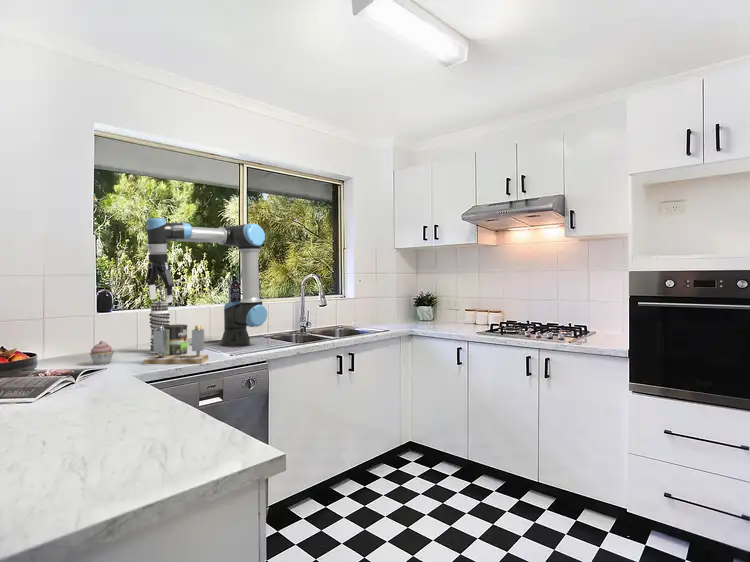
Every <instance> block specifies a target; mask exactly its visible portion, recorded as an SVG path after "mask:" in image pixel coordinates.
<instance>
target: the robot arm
mask: <svg viewBox="0 0 750 562" xmlns="http://www.w3.org/2000/svg"><path fill="white" fill-rule="evenodd" d="M146 234H147V250H148V251H147V252H148V262H149V263H148V264H147V272H146V277H145V281H144V282H145V284H147V285H148V296H149V300H156V299H157V288H156V280H157V278H158V276H159V277H160V278H161V280H162V282H163V285H164V301H165V303H167V304H169V303H173V295H172V294H173V292H172V288H173V287H175V286H176V285H175V282H174V278H173V275H172V272H171V267H170V264H166V263H167V262H168V261H169V260H168V254H167V253H168V244H167V243H168V242H186V243H187V242H189V243H190V242H191V243H192V242H193V243H211V244H212V243H214V244H215V243H216V244H218V245H220V246H230V247H236V248H237V250H238V251H239V253H240V256H241V260H240V261H241V290H242V294H241V295H242V298H241V300H240V301H232V302H226V303H225V304H224V307H223V319H224V320H223V322H224V324H223V326H224V330H223V334H222V337H221V340H220V345H221V344H222V345H221V346H224V345H229V346H228V347H236V346H237V347H238V346H239V345H240V346H246V345H249V344H250V343H251V338H250V336H249V333H248V330H247V327H250V328H257V327H261V326H262V325H263V324H264V323H265V321H266V320H267V318H268V310H267V308H266V307H265V306H264V305H263V300H262V299H261V298H260V279H259V278H260V277H259V252H260V251H261V249H262V247H261V246H262V245H263V244H264V243H265V239H266V234H265V232H264V229H263V228H262V227H261V226H260V225H259V224H256V223H245V224H236V225H232V226H231V225H230V226H219V227H218V228H215V227H201V226H200V227H199V226H191V224H190V223H188V222H167V221H166V219H165V218H158V217H155V218H153V217H150V218H147V220H146Z"/></svg>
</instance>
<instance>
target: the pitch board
mask: <svg viewBox="0 0 750 562" xmlns="http://www.w3.org/2000/svg"><path fill="white" fill-rule="evenodd" d="M208 360H209V355H208V354H200V356H196V354H187V355H175V356H164V355H162V358H158V355H152V356H150V357H147V358H144V359H143V363H142V364H164V365H196V364H197V365H198V364H199V365H201V364H204V363H205V362H206V361H208Z"/></svg>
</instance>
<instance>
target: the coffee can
mask: <svg viewBox="0 0 750 562" xmlns="http://www.w3.org/2000/svg"><path fill="white" fill-rule="evenodd" d="M164 330H166V337H167V350H166V351H164V353H163V356H175V355H188V324H169V325H166V326H164Z"/></svg>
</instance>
